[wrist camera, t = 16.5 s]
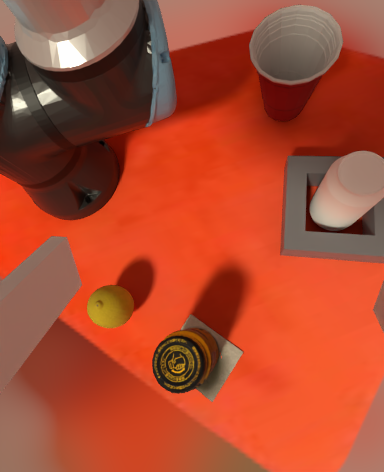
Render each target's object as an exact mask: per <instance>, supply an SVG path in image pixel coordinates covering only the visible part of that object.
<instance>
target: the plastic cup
mask: <svg viewBox="0 0 384 472" xmlns="http://www.w3.org/2000/svg"><path fill="white" fill-rule="evenodd" d="M342 44H343V39H342V33H341V28H340V26H339V24H338V23H337V22H336V20H335V19H334V18H333V17H332V15H331V14H329V13H327V12H325V11H323V10H321V9H319V8H317V7H314V6H305V5H295V6H291V7H285V8H281V9H279V10H277V11H275V12H274V13H272V14H270V15H268V16H267V17H265V18H264V19H263V21H262V22H261V23H260V24H259V25H258V26H257V27H256V29H255V30H254V32H253V35H252V38H251V41H250V44H249V48H250V58H251V61H252V63H253V64H254V66H255V68H256V69H257V73H258V75H259V80H260V86H261V92H262V98H263V100H264V107H265V110H266V112H267V114H268V115H269V117H271V118H272V119H274V120H277V121H288V120H291V119H293V118H295V117H296V116H297V115H298V114H299V113H300V112H301V111H302V109H303V108H304V106H305V104H306V102H307V100H308V99H309V98H310V96H311V94H312V92H313V91H314V89H315V87H316V85H317V84H318V82H319V80H320V78H321V76H322V75H323V74H325V73H326V71H327V70H328V69H329V68H330V67H331V66H332V65H333V63H334V62H335V61H336V60H337V59H338V57H339V54H340V50H341V47H342Z"/></svg>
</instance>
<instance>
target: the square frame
mask: <svg viewBox="0 0 384 472" xmlns="http://www.w3.org/2000/svg"><path fill="white" fill-rule="evenodd" d="M339 158H341V157H338V156H288V157H287V161H286V165H285V169H284V188H283V209H282V230H281V251H280V255H285V256H298V257H310V258H323V259H335V260H348V261H360V262H373V263H384V197H383V198H382V199H381V200H380V201H379V202H378V203H377V204H376V205H374V206H373V207H372V208H371V209H370V210H369V211H367V212H366V213H365V214H364V215H363V216H362V230H363V235H358V234H342V233H326V232H310V231H305V224H306V188H307V186H319V185H320V184H321V182H322V180H323V178H324V177H325V175H326V173H327V171H328V170H329V168H330V166H331V165H332V164H333V163H334V162H335V161H336V160H337V159H339ZM382 158H383V159H384V157H382Z"/></svg>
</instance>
